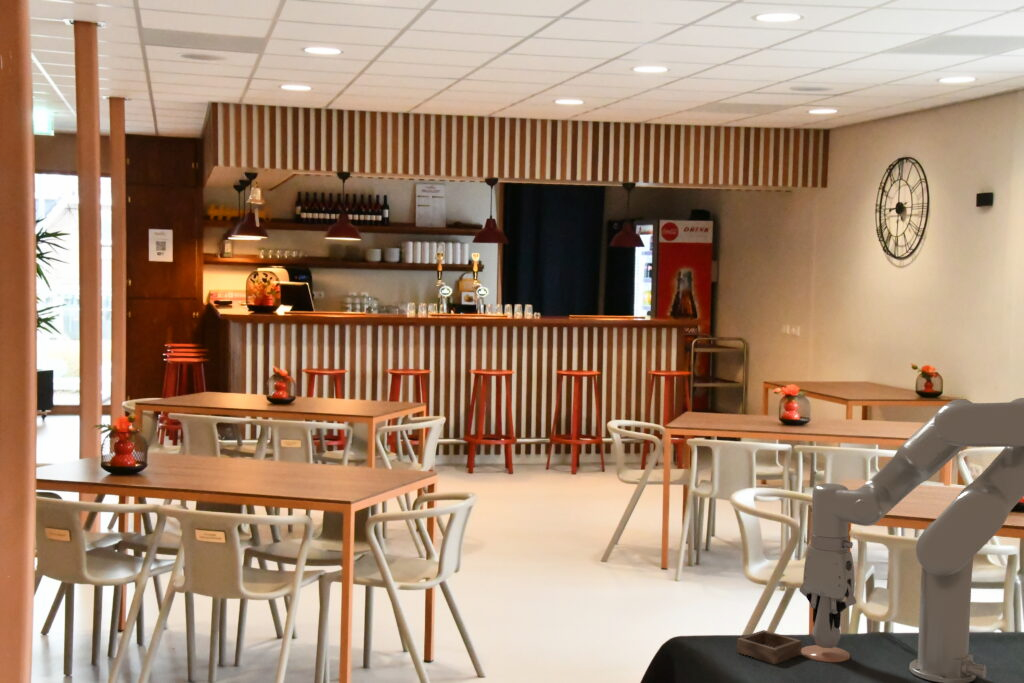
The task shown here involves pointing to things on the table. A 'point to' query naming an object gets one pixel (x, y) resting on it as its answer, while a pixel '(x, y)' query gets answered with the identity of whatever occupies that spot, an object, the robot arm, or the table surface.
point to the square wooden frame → (758, 650)
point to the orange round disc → (825, 654)
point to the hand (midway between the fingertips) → (826, 627)
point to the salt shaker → (825, 625)
